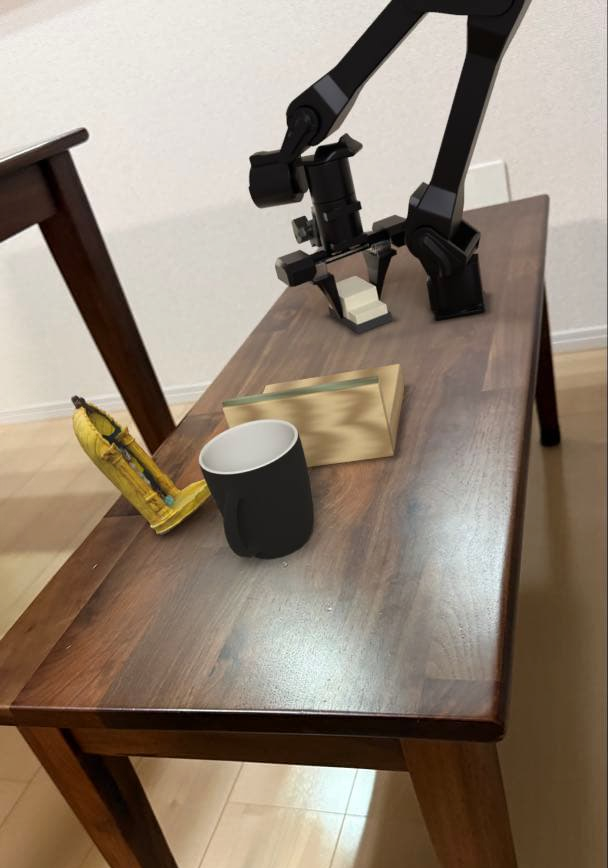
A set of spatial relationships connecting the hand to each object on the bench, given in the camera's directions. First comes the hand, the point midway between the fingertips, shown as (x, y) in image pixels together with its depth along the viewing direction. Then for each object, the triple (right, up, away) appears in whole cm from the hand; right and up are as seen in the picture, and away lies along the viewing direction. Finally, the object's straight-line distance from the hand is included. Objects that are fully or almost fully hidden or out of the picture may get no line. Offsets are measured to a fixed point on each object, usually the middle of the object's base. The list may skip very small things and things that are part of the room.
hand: (358, 310), depth 117 cm
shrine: (-21, -31, -32) cm, 49 cm away
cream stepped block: (0, -1, +1) cm, 1 cm away
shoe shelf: (-5, -19, -24) cm, 31 cm away
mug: (-10, -33, -40) cm, 53 cm away
